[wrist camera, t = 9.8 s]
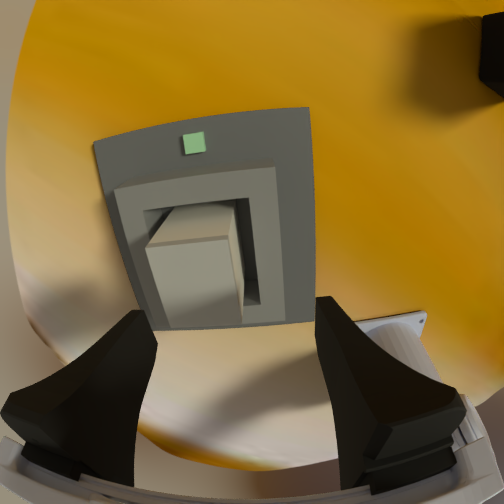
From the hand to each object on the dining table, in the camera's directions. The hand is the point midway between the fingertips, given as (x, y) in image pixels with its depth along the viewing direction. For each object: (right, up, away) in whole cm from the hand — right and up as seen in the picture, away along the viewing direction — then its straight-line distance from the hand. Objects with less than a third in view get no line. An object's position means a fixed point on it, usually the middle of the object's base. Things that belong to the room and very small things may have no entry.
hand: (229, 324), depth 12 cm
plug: (-2, +4, +8) cm, 9 cm away
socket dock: (-2, +4, +8) cm, 10 cm away
